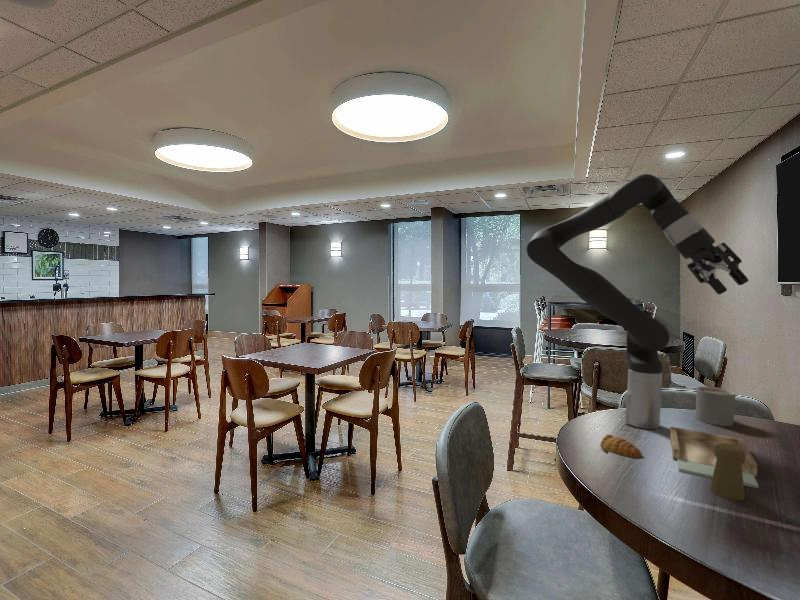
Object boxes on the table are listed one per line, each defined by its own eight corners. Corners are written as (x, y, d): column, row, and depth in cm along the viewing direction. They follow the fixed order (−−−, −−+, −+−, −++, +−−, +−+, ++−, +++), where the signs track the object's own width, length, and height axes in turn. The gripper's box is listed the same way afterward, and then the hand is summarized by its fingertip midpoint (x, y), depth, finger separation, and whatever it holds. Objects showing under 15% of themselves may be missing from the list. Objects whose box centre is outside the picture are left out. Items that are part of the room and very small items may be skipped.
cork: (701, 489, 89) (704, 440, 89) (727, 488, 90) (730, 439, 89) (726, 504, 83) (729, 452, 83) (753, 503, 84) (756, 451, 83)
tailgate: (677, 463, 102) (678, 473, 96) (677, 458, 101) (678, 468, 96) (752, 479, 94) (758, 490, 89) (752, 474, 94) (758, 485, 89)
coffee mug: (735, 428, 127) (737, 396, 126) (695, 421, 132) (697, 391, 132) (730, 416, 138) (732, 387, 137) (694, 410, 143) (695, 382, 143)
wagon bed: (673, 462, 102) (673, 448, 102) (670, 438, 118) (670, 426, 118) (756, 479, 94) (757, 464, 94) (741, 451, 110) (742, 438, 109)
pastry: (646, 457, 105) (647, 443, 105) (632, 464, 102) (633, 449, 102) (611, 444, 113) (611, 431, 113) (597, 450, 110) (597, 436, 109)
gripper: (662, 253, 112) (704, 302, 107) (688, 232, 98) (737, 288, 93) (687, 239, 111) (729, 288, 107) (716, 216, 98) (766, 271, 93)
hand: (733, 288), depth 100 cm, fingers open, 8 cm apart
